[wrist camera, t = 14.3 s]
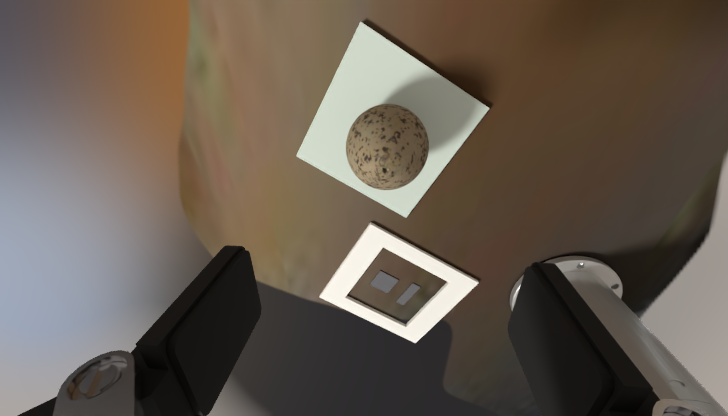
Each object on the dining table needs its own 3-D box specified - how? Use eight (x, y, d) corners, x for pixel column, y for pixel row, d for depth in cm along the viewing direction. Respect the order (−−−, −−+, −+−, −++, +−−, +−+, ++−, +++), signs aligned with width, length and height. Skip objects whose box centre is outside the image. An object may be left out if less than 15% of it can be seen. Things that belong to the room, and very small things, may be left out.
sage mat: (487, 107, 28) (489, 108, 27) (405, 215, 34) (406, 217, 34) (361, 22, 26) (360, 21, 25) (297, 154, 32) (296, 156, 31)
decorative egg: (365, 177, 32) (355, 223, 23) (341, 112, 29) (319, 137, 20) (431, 157, 30) (447, 200, 21) (413, 86, 27) (423, 101, 18)
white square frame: (477, 280, 38) (478, 282, 37) (415, 340, 44) (415, 343, 43) (370, 222, 35) (370, 224, 34) (320, 294, 41) (319, 297, 41)
